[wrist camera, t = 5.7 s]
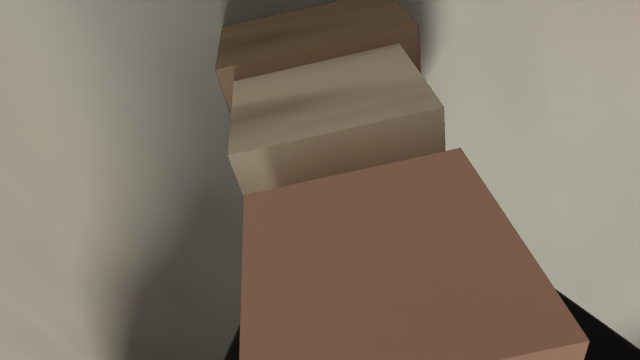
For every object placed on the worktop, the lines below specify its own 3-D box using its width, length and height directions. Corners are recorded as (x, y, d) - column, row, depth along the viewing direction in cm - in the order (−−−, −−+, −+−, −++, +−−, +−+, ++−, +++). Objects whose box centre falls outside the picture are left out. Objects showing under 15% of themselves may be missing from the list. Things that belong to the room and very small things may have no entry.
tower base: (399, 130, 20) (426, 186, 17) (264, 159, 20) (266, 220, 17) (386, -12, 17) (417, 25, 13) (222, 25, 17) (215, 69, 13)
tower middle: (411, 176, 17) (448, 257, 13) (275, 206, 17) (280, 294, 14) (399, 43, 14) (444, 106, 10) (233, 81, 14) (227, 155, 11)
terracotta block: (460, 289, 12) (547, 481, 8) (291, 325, 12) (307, 530, 9) (460, 147, 9) (590, 340, 6) (243, 195, 9) (238, 414, 6)
